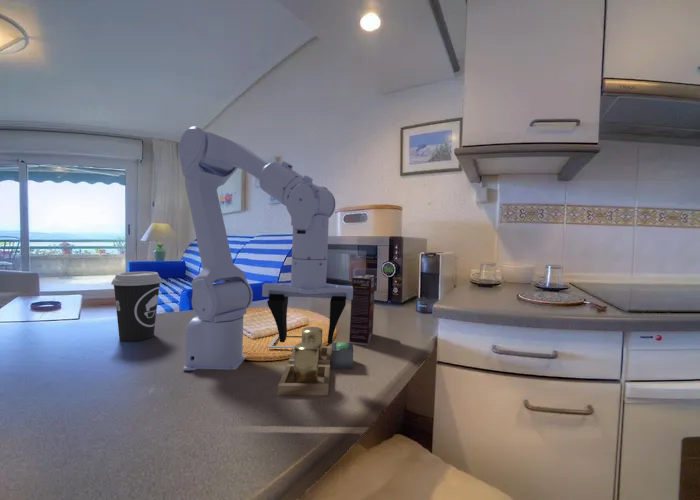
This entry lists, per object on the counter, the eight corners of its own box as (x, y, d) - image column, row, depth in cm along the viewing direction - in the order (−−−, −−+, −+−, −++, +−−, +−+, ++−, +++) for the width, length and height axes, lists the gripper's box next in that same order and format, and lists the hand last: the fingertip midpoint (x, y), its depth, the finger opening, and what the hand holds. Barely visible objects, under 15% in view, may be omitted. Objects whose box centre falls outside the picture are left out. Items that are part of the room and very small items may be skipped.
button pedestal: (331, 371, 53) (331, 350, 53) (331, 362, 57) (332, 342, 57) (352, 371, 53) (353, 350, 53) (351, 362, 57) (352, 343, 57)
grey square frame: (268, 352, 61) (268, 346, 61) (277, 337, 70) (277, 332, 70) (311, 353, 61) (311, 347, 61) (315, 338, 71) (315, 333, 70)
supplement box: (369, 348, 66) (371, 278, 65) (348, 345, 67) (350, 277, 66) (373, 336, 74) (375, 274, 74) (355, 334, 75) (357, 273, 75)
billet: (290, 387, 46) (290, 350, 46) (297, 376, 50) (298, 341, 50) (314, 390, 45) (315, 352, 45) (320, 378, 49) (321, 343, 49)
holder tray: (276, 399, 43) (276, 386, 43) (294, 354, 60) (294, 345, 60) (329, 400, 44) (329, 387, 44) (332, 355, 61) (332, 346, 61)
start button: (335, 367, 54) (336, 346, 54) (335, 362, 56) (336, 342, 56) (348, 367, 54) (348, 346, 54) (347, 362, 56) (348, 342, 56)
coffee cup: (152, 328, 74) (152, 270, 74) (168, 336, 68) (169, 273, 68) (104, 337, 66) (105, 273, 66) (118, 347, 61) (119, 277, 60)
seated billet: (299, 364, 54) (300, 332, 54) (302, 355, 58) (303, 326, 58) (320, 364, 55) (321, 333, 54) (322, 356, 59) (323, 327, 58)
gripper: (257, 258, 43) (254, 348, 43) (355, 262, 43) (351, 351, 44) (269, 255, 50) (266, 333, 50) (353, 259, 50) (349, 335, 51)
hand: (306, 340), depth 47 cm, fingers open, 7 cm apart
